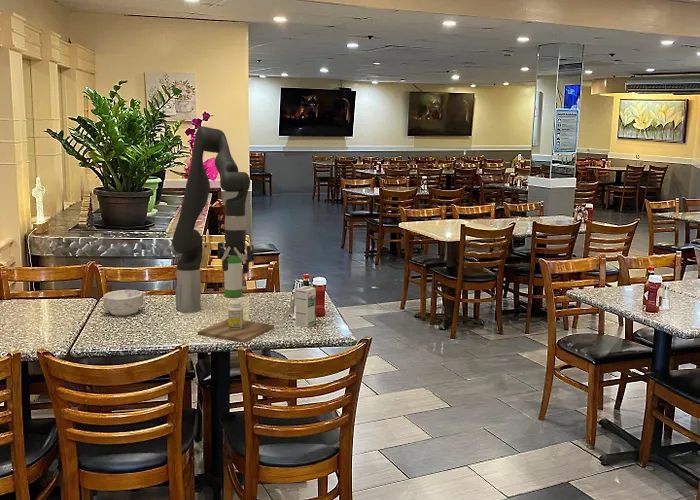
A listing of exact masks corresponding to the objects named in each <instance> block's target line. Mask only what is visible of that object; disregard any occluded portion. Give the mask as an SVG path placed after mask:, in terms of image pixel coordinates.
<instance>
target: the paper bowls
mask: <svg viewBox="0 0 700 500" xmlns="http://www.w3.org/2000/svg"><path fill="white" fill-rule="evenodd" d="M102 299H103V300H102V302H103V308H104V309H105V310H108V311H109V313H110V314H111V315H113V316H119V317H120V316H121V317H123V316H130V315H134V314H136V313H137V312H138V311H139V309H140V307H143V305H144V293H143V292H142V291H141V290H136V289H122V290H121V289H120V290H113V291H110V292H106V293H105V294H103V296H102Z"/></svg>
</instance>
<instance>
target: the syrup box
mask: <svg viewBox="0 0 700 500" xmlns="http://www.w3.org/2000/svg"><path fill="white" fill-rule="evenodd" d="M294 291H295V293H294V294H295V297H294V298H295V302H294V303H295V307H294V308H295V326H298V327H303V328H309V327H311V326H314V325H316V324H317V322H316V321H317V314H316V313H317V305H316V303H317V299H316V298H317V296H316V295H317V294H316V293H317V288H316V287H314V286H309V285H307V286H306V285H303V286H301V287H297V288H295V290H294Z"/></svg>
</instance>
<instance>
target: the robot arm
mask: <svg viewBox="0 0 700 500" xmlns="http://www.w3.org/2000/svg"><path fill="white" fill-rule="evenodd" d="M230 150H231V149H230V146H229V142H228V139H227V136H226V134H225V132H224V131H222V130H221V129H218V128H215V127H214V128H213V127H207V126H201V125H200V126H199V127H198V128H197V130H196V131H195V135H194V139H193V148H192V154H191V160H190V168H189V171H188V176H187V180H186V185H185V188H184V193H183V199H182V200H183V201H182V203H181V208H180V212H179V216H178V221H177V223H176V226H175V230H174V232H173V237H172V247H173V249H174V251H175V252H176V253H177V254H181V256H180V258H179V260H178V261H177V263H176V281H177V282H176V283H177V284H176V287H175V290H174V292H175V294H174V295H175V310H176V311H178V312H180V313H195V312H199V311H201V310H202V299H201V298H202V294H201V293H202V291H201V288H202V287H201V264H202V261H203V260H202V259H203V238H202V235H201V233H200V232H199V230H197V229H195V227H196V223H197V221H198V218H199V217H200V215H201V214H202V212H203V211H204V208H205V207H206V204H207V202H208V199H209V196H210V195H209V194H210V190H211V184H210V179H209V176H208V173H207V171H206V169H205V166H204V152H208V153H216V154H217V155H216V156H215V158H214V166H215V168H216V170H217V172H218V174H219V184H220V188H221V190H223V191H224V192H227V193H237V195H236V196H234V197H231V198H227V199H226V200H225V203H224V206H225V207H224V208H225V209H224V210H225V213H224V214H225V215H224V241H225V242H224V241H220V242H218V243H217V252H216V253H217V255H216V257H217V259H218V260H221V268H222V270H223V272H224V271H227V270H228V258H229V257H230V256H233V255H234V256H239V258H240V259H241V260H242V275H246V274H248V273H249V271H250V270H249V269H250V265H249V264H250V263H253V262H254V261H255V257H254V256H255V255H254V245H253V244H250V245H246V240H247V219H246V203H247V197H248V194H249V190H250V187H251V178H250V175H249V174H248V173H247V172H246V171H239V166H238V165H237V163H236V161H235V160H234V158H233V156H232V154H231V151H230Z"/></svg>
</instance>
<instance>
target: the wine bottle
mask: <svg viewBox="0 0 700 500" xmlns="http://www.w3.org/2000/svg"><path fill="white" fill-rule="evenodd" d="M223 272H224V273H223V274H224V277H223V278H224V280H223V281H224V296H225V297H227V298H239V297H242V295H243V261H242V260H241V259H240V258H239V256H234V255H233V256H230V257H229V258H228V270H227V271H223Z"/></svg>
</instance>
